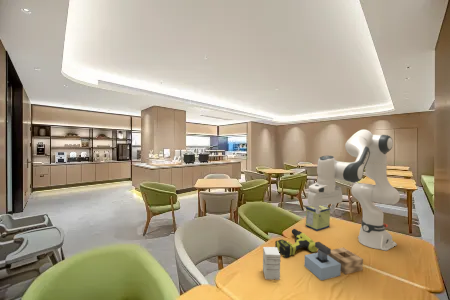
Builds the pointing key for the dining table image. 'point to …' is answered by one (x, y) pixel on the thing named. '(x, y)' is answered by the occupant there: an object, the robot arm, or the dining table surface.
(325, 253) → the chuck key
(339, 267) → the block
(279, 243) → the cordless drill
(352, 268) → the stand
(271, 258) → the supplement box
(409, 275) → the dining table surface
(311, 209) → the protein box
